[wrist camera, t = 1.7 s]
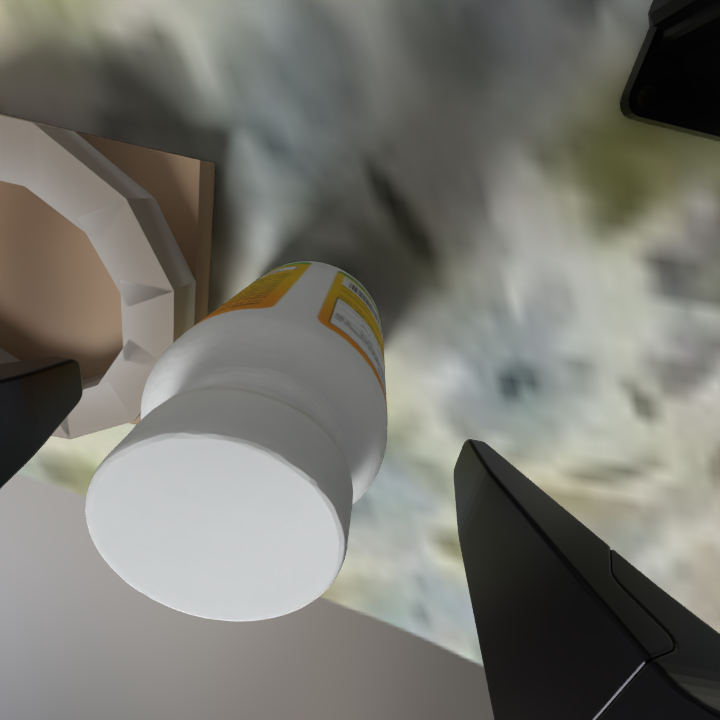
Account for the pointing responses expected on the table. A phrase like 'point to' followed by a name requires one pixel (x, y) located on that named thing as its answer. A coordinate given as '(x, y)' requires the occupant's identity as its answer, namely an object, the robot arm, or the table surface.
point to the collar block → (100, 260)
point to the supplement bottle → (250, 450)
